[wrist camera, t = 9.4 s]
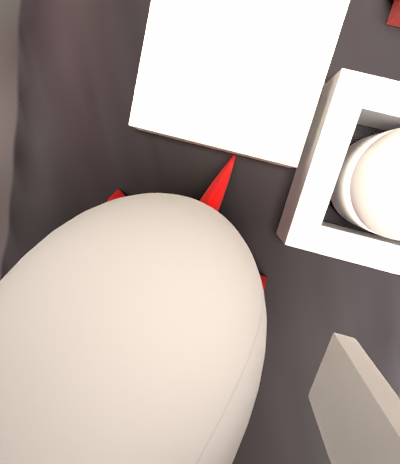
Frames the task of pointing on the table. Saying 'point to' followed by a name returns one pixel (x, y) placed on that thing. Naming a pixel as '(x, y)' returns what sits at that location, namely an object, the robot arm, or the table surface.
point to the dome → (371, 184)
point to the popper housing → (329, 165)
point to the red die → (394, 14)
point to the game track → (236, 73)
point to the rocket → (133, 336)
